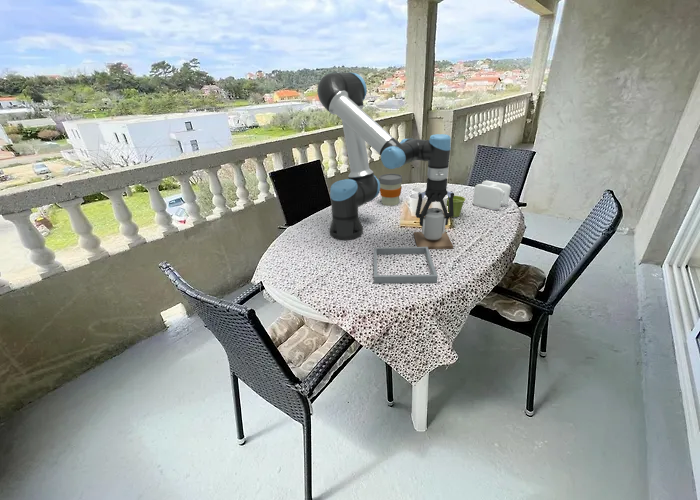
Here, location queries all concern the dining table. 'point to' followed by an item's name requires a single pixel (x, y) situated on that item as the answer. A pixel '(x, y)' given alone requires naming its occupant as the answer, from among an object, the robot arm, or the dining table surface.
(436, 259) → the dining table surface
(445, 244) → the pad
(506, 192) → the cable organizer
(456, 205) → the plant pot
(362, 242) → the dining table surface
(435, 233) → the can
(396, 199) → the reusable coffee cup
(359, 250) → the dining table surface
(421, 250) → the gray square frame
